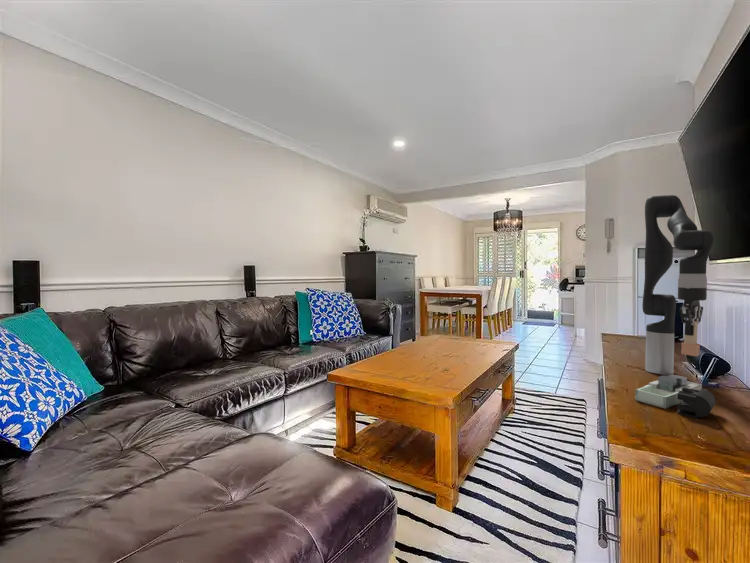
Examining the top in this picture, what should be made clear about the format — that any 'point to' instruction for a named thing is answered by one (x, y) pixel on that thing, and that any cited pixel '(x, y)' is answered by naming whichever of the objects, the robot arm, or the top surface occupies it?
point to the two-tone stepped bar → (691, 343)
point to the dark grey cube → (667, 383)
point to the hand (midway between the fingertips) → (690, 334)
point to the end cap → (695, 402)
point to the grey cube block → (680, 380)
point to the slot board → (663, 392)
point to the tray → (656, 397)
